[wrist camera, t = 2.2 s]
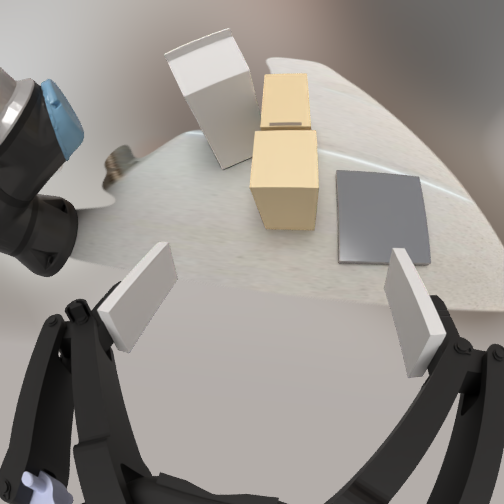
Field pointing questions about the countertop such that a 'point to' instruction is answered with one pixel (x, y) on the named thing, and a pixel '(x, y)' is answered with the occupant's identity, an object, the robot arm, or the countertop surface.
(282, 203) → the tan rectangular block
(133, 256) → the countertop surface
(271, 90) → the cardboard shipping box
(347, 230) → the plate
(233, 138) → the milk carton
